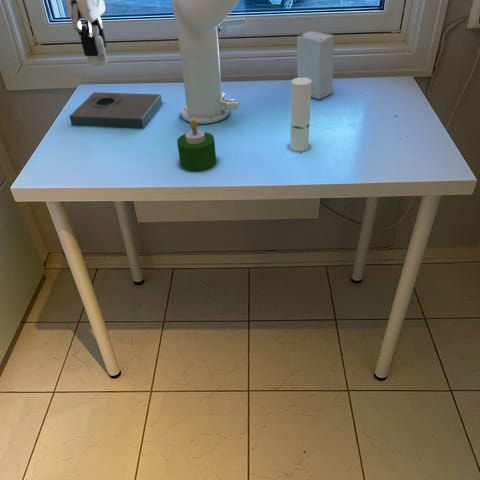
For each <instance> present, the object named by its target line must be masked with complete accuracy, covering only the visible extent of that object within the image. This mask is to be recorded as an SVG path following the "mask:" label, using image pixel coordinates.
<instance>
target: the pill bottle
mask: <svg viewBox="0 0 480 480" xmlns="http://www.w3.org/2000/svg"><path fill="white" fill-rule="evenodd" d="M84 26H85V27H86V29H87V25H84ZM91 28H92V36H95V41H96V45H97V49H98V56H86V57H87V62H88V65H89V66H91V67H102V66H104V65H106V64H107V63H108V57H107V51H106V48H105V47H104V43H103V39H102V37H101V36H99V29H98V26H96V25H91Z"/></svg>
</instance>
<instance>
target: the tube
mask: <svg viewBox="0 0 480 480" xmlns="http://www.w3.org/2000/svg"><path fill="white" fill-rule="evenodd" d="M290 83H291V85H290V87H291V90H290V130H289V131H290V135H289V136H290V137H289V138H290V139H289V148H290V150H292V151H294V152H304V151H307V150H308V149H309V145H310V141H309V140H310V120H311V117H310V116H311V101H312V97H311V79H309V78H304V77H300V78H297V77H295V78H293V79H292V80H291V82H290Z"/></svg>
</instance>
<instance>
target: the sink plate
mask: <svg viewBox="0 0 480 480" xmlns="http://www.w3.org/2000/svg"><path fill="white" fill-rule="evenodd" d="M162 104H163V99H162V94H159V93H158V94H157V93H130V92H129V93H127V92H126V93H125V92H95V91H93V92H92V93H91V94H90V95H89V97H87V98H86V99H85V100H84V101H83V102H82V103H81V104H80V105H79V106H78V107H77V108H76V109H75V110H74V111H73V112H72V113H71V114H70V115H69V120H70V123H71V126H77V127H78V126H79V127H80V126H81V127H101V128H124V129H144V128H145V127H146V126H147V124H148V123H149V122H150V121H151V119H152V118H153V116H154V115H155V114H156V113H157V111H158V110H159V108H160V107H161V106H162Z"/></svg>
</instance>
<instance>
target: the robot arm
mask: <svg viewBox="0 0 480 480" xmlns="http://www.w3.org/2000/svg"><path fill="white" fill-rule="evenodd" d="M240 1H241V0H171V5H172V11H173V17H174V21H175V27H176V33H177V40H178V47H179V56H180V64H181V71H182V80H183V81H182V82H183V88H184V97H185V106H184V107H183V108H182V109H181V112H180V114H181V118H182V119H183V120H184V121H186V122H187V123H191V121H192V120H195V121H196V122H197V125H198V124H201V125H202V124H212V123H216V122H220V121H223V120H224V119H225V118H227V116H228V115H229V114H230V111H239V107H240V106H239V105H240V104H239V102H237V100H236V99H233V98H232V99H228V98H227V97H226V93H225V92H223V90H222V78H221V75H222V74H221V64H220V63H221V62H220V49H219V36H218V29H217V28H218V27H219V26H221V24H222V23H223V22H224V21H225V20H226V19H227V18H228V17H229V15H230V14H231V13H232V12H233V10H234V9H235V7H237V5H238V4H239V2H240ZM65 5H66V8H67V12H68V14H69V18H70V21H72V28H73V29H74V30H75V31H76V32H77V34H78V37H79V39H80V42H81V46H82V51H83V55H84V56H85V57H87V56H98V49H97V45H96V41H95V36H92V28H91V25H96V26H98V29H99V36H101V37H102V39H103V43H104V47H105V49H106V48H107V43H106V38H105V33H104V29H103V28H104V25H103V21H102V17H103V16H102V15H103V14H104V13H105V12H106V8H107V7H106V4H105V0H65ZM81 19H84V20H81ZM85 26H87V29H86V27H85Z"/></svg>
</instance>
